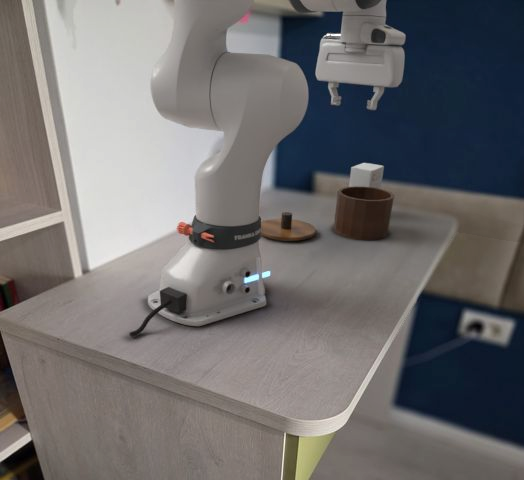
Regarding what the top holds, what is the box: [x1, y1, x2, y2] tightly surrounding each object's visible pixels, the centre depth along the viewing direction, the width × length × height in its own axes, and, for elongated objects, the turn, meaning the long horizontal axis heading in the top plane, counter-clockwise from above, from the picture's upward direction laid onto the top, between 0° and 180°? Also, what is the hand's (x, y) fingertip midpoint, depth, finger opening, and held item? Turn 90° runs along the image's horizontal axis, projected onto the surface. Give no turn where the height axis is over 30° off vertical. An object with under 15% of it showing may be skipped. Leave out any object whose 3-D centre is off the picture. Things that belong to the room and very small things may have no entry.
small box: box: [348, 162, 385, 189], centre depth 137 cm, size 8×6×13 cm
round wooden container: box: [333, 186, 395, 241], centre depth 125 cm, size 14×14×10 cm
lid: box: [261, 211, 316, 242], centre depth 123 cm, size 15×15×5 cm
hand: (353, 107), depth 110 cm, fingers open, 8 cm apart
